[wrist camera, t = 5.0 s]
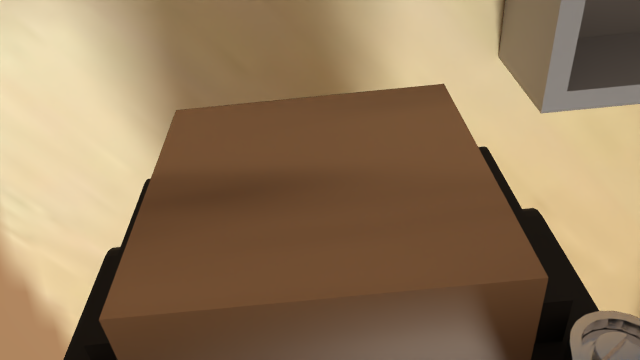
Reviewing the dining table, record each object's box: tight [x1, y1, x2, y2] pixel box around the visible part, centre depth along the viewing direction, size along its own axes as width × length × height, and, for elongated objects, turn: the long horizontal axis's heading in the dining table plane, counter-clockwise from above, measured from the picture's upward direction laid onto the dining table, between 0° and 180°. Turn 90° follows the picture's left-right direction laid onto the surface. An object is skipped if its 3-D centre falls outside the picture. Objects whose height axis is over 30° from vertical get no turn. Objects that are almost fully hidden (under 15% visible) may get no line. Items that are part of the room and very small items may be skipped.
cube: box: [99, 84, 548, 360], centre depth 10 cm, size 5×5×5 cm
